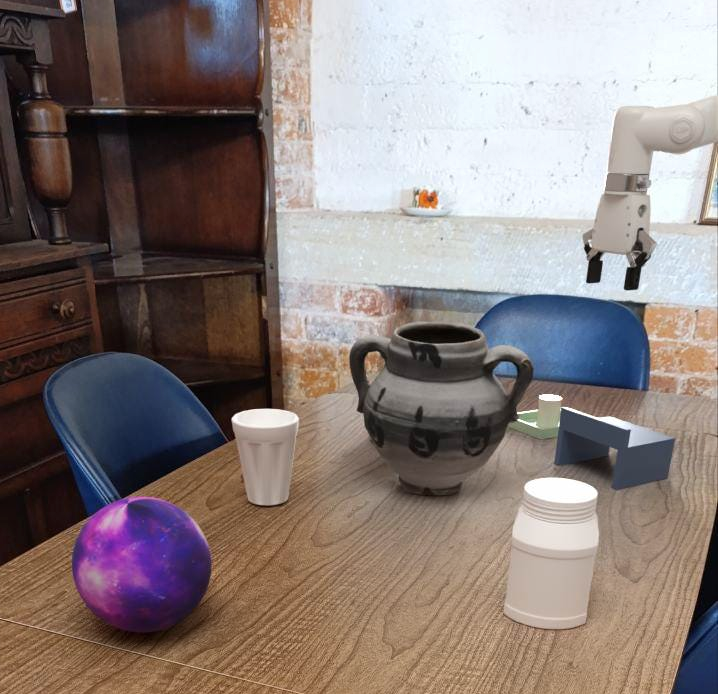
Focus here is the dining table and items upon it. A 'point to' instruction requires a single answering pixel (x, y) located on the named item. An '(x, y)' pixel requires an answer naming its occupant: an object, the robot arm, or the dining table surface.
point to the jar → (552, 554)
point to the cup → (266, 452)
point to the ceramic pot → (437, 401)
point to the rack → (634, 444)
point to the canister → (548, 411)
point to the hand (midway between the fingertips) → (611, 286)
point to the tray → (533, 426)
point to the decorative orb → (141, 564)
